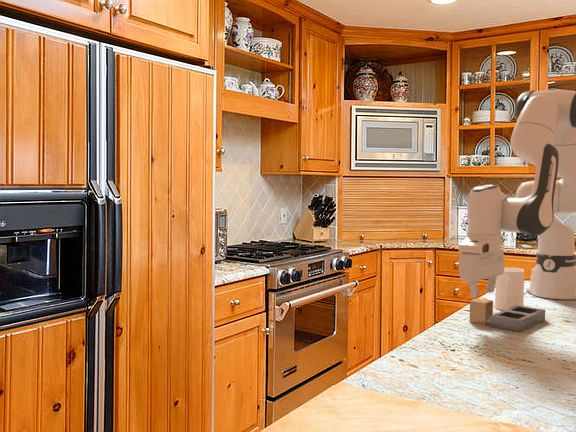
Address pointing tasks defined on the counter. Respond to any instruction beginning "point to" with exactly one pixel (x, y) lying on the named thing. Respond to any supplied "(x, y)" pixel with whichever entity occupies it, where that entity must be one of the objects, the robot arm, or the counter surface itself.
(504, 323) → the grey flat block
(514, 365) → the counter surface
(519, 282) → the mug
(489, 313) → the wooden toy block
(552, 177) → the robot arm
